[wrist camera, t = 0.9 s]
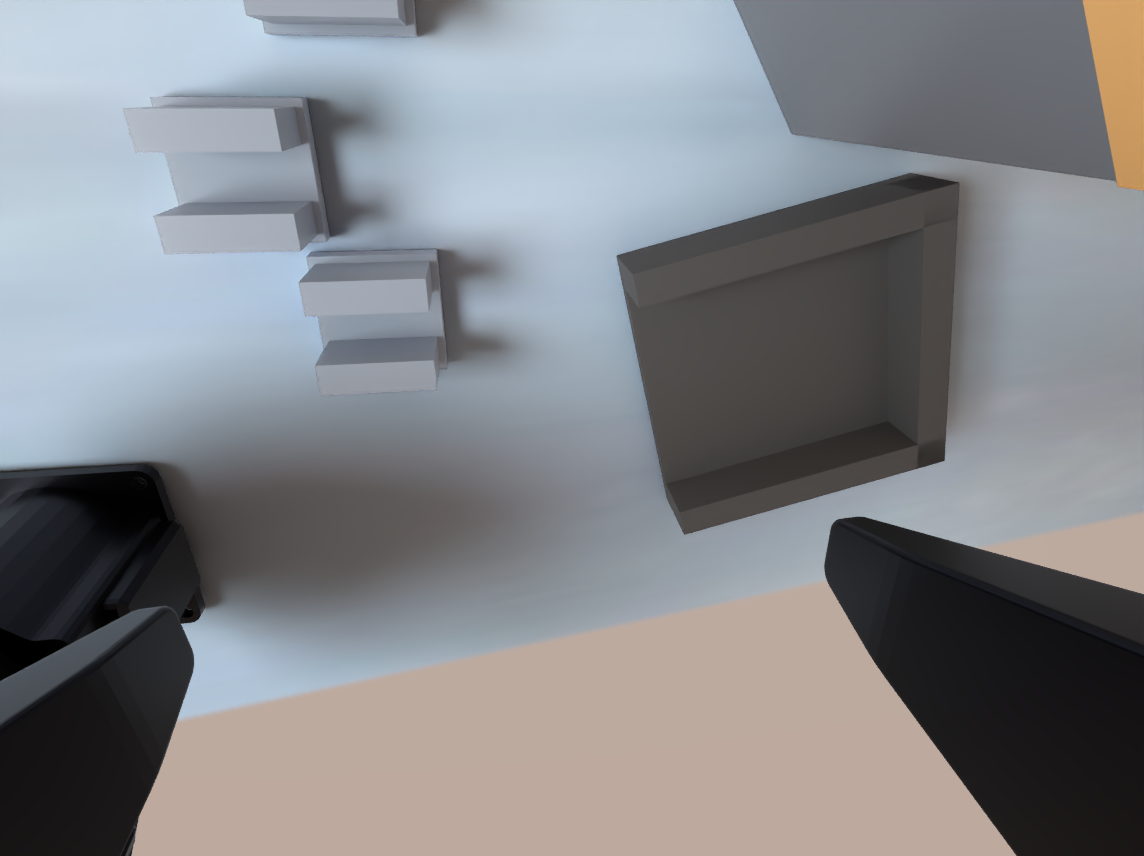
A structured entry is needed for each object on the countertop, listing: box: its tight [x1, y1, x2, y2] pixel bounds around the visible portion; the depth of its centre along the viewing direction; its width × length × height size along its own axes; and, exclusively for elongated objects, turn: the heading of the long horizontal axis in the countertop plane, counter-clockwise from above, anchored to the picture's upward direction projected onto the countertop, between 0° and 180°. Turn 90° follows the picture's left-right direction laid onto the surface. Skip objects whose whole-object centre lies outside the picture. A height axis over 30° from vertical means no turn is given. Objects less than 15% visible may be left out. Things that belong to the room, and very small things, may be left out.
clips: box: [123, 0, 447, 396], centre depth 16 cm, size 7×13×3 cm, turn 0°
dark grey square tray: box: [617, 173, 959, 535], centre depth 21 cm, size 10×10×2 cm
